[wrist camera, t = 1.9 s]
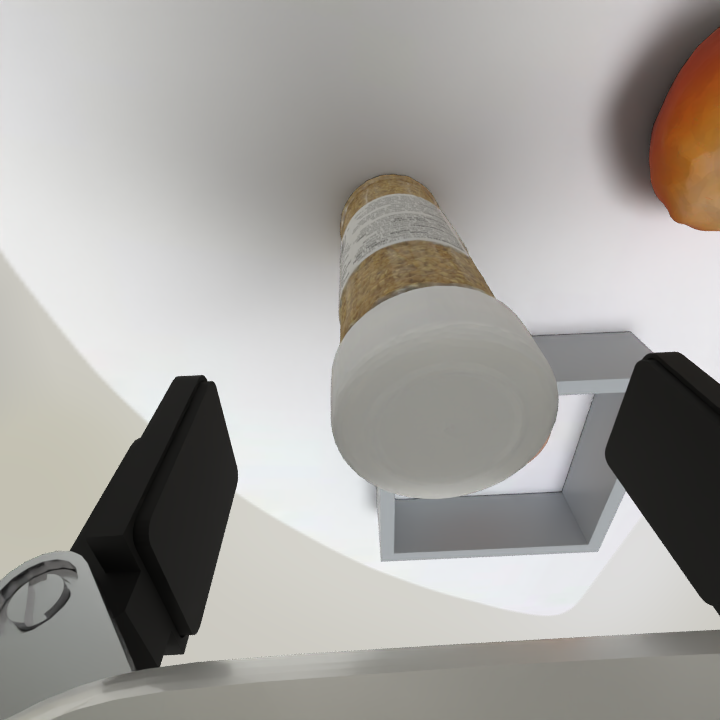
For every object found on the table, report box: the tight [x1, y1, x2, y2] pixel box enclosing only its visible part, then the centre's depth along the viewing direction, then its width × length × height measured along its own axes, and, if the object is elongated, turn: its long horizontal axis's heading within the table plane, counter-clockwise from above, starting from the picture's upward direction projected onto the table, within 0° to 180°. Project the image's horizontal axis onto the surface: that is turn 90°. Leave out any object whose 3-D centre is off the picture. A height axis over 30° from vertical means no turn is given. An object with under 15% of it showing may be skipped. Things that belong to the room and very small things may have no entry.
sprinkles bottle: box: [331, 174, 559, 499], centre depth 14 cm, size 5×5×14 cm
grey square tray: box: [377, 332, 653, 562], centre depth 25 cm, size 14×14×4 cm
